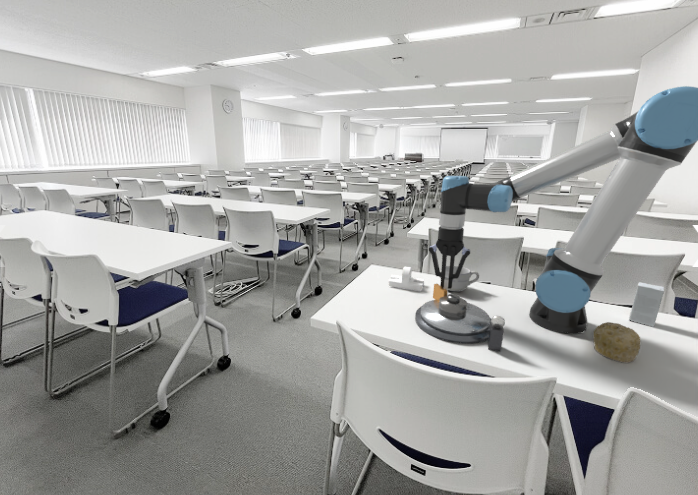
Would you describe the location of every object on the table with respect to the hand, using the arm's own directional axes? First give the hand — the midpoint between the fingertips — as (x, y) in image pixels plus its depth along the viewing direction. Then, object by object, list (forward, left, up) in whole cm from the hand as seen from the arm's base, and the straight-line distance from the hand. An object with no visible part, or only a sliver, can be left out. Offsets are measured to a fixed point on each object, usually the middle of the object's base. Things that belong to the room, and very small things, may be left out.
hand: (445, 296), depth 108 cm
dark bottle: (-15, +19, -4) cm, 24 cm away
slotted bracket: (+16, -15, -5) cm, 22 cm away
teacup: (-4, -19, -5) cm, 20 cm away
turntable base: (-4, +9, -4) cm, 10 cm away
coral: (-44, +10, -5) cm, 45 cm away
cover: (-3, +9, -1) cm, 10 cm away
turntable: (-3, +8, -3) cm, 9 cm away
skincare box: (-59, -14, -5) cm, 60 cm away
